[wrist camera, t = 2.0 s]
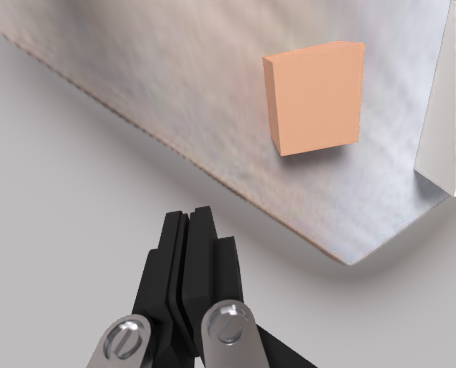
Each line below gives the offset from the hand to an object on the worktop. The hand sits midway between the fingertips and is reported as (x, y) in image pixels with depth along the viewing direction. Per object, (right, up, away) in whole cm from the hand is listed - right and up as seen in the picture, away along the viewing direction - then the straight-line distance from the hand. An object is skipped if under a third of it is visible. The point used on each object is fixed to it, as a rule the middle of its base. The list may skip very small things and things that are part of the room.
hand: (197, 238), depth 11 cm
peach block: (+9, +11, +16) cm, 21 cm away
